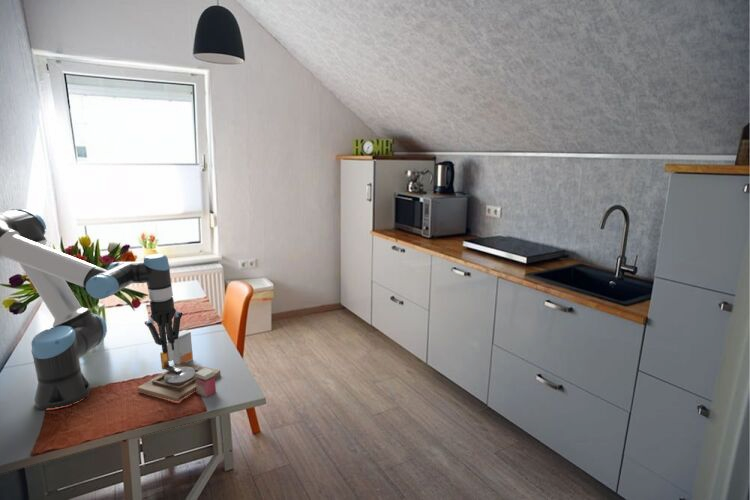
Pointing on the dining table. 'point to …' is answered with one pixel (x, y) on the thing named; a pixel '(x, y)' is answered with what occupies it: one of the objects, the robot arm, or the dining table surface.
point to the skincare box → (182, 348)
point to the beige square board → (172, 391)
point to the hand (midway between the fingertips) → (169, 359)
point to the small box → (205, 382)
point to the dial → (176, 372)
